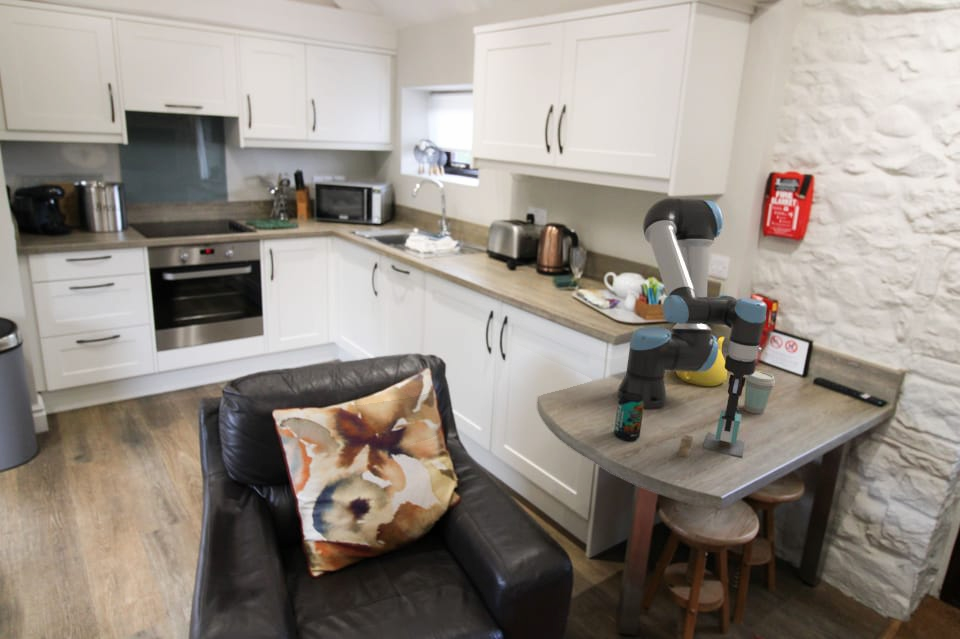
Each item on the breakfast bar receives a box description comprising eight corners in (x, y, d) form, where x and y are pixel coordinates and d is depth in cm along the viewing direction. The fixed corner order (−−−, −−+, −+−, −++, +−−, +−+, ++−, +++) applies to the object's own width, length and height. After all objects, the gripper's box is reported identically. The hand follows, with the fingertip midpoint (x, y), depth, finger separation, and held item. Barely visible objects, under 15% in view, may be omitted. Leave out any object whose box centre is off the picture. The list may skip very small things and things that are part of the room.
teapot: (696, 363, 238) (702, 329, 234) (740, 378, 226) (748, 342, 222) (660, 377, 222) (665, 340, 218) (706, 393, 209) (713, 355, 205)
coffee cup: (771, 417, 194) (779, 381, 191) (742, 413, 195) (749, 377, 192) (764, 406, 202) (772, 371, 199) (737, 402, 204) (744, 368, 200)
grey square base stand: (703, 447, 171) (707, 424, 169) (707, 433, 180) (711, 411, 178) (742, 457, 167) (747, 434, 165) (744, 442, 176) (749, 420, 174)
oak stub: (678, 455, 166) (681, 438, 164) (679, 451, 168) (682, 434, 167) (688, 457, 165) (691, 440, 163) (689, 453, 167) (692, 436, 166)
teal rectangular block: (715, 438, 171) (719, 416, 169) (717, 431, 176) (721, 410, 174) (735, 443, 169) (740, 421, 167) (737, 436, 174) (741, 414, 172)
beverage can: (639, 443, 171) (646, 403, 167) (613, 440, 172) (619, 399, 168) (638, 432, 177) (644, 393, 174) (613, 428, 178) (618, 390, 175)
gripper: (755, 369, 156) (738, 453, 163) (758, 350, 172) (743, 427, 179) (723, 363, 159) (708, 446, 166) (729, 345, 175) (715, 421, 182)
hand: (726, 436), depth 172 cm, fingers closed on teal rectangular block, 5 cm apart
